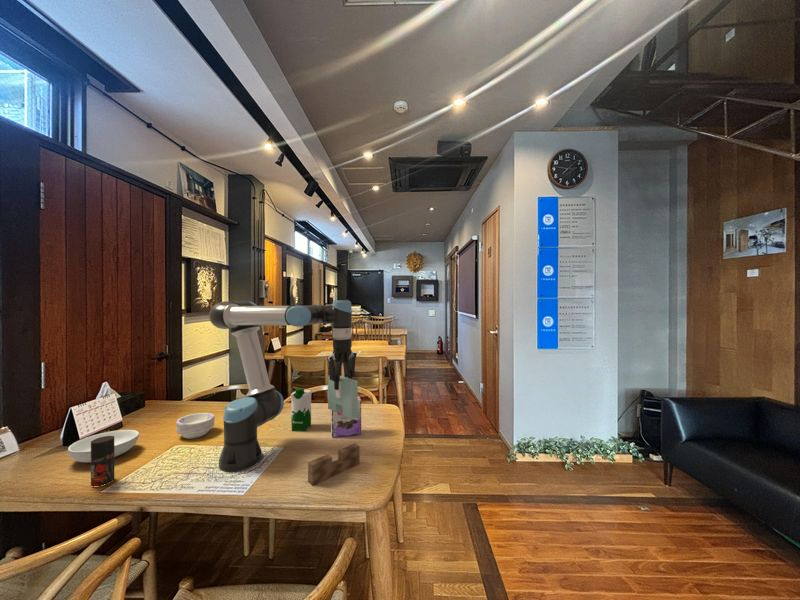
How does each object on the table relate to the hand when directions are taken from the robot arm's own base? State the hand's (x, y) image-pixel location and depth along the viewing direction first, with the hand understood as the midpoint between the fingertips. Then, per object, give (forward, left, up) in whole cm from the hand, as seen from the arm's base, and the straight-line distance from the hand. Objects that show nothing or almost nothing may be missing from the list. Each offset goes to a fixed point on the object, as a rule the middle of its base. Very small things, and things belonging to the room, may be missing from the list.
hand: (342, 396), depth 125 cm
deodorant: (-69, +44, -25) cm, 86 cm away
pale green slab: (0, 0, -7) cm, 7 cm away
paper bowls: (-37, +67, -25) cm, 81 cm away
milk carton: (+2, +38, -25) cm, 45 cm away
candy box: (+14, +17, -25) cm, 33 cm away
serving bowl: (-68, +69, -25) cm, 100 cm away
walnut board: (-8, -8, -24) cm, 27 cm away
